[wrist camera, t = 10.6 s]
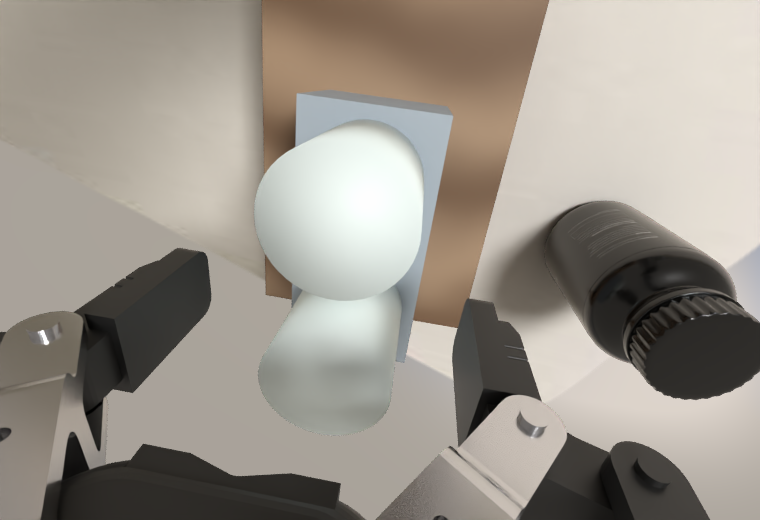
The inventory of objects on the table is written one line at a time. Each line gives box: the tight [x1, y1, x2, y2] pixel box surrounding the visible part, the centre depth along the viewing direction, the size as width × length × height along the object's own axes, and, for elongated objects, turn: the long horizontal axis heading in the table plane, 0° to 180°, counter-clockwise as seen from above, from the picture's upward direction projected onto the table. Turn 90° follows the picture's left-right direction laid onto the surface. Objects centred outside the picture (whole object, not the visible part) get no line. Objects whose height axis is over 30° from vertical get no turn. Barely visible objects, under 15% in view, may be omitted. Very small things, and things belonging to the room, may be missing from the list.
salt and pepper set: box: [254, 90, 453, 436], centre depth 15 cm, size 11×6×10 cm, turn 173°
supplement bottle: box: [544, 201, 760, 400], centre depth 21 cm, size 7×7×12 cm
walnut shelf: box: [262, 0, 549, 328], centre depth 22 cm, size 18×12×7 cm, turn 173°
